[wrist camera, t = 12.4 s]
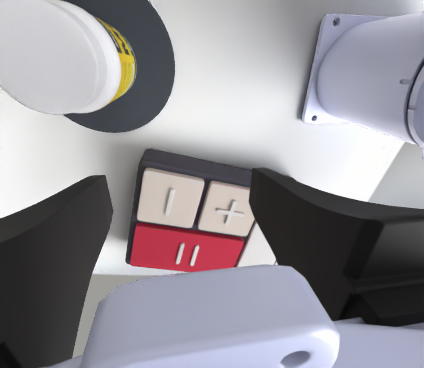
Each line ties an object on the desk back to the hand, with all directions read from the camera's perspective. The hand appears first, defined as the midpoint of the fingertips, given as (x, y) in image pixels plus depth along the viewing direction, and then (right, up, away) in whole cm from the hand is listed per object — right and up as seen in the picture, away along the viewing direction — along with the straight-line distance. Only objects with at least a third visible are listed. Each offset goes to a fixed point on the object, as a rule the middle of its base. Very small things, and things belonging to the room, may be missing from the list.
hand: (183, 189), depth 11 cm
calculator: (+1, -2, +13) cm, 13 cm away
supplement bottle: (-6, +9, +5) cm, 12 cm away
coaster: (-6, +9, +5) cm, 12 cm away
